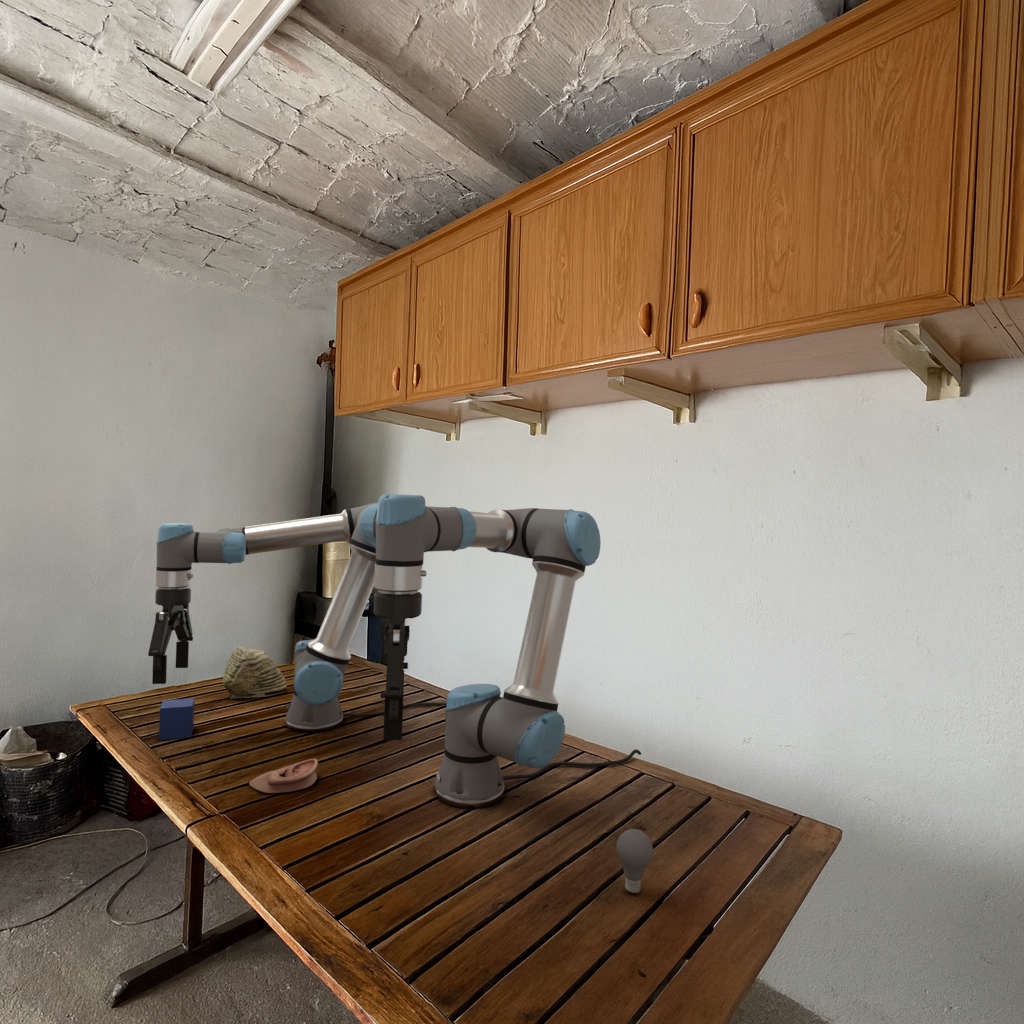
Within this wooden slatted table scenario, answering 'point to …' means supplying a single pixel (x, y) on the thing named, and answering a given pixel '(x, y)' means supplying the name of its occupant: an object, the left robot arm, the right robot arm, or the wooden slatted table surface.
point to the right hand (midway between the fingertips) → (393, 723)
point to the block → (176, 719)
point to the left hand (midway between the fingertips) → (171, 675)
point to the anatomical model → (287, 778)
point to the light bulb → (634, 857)
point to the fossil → (252, 674)
